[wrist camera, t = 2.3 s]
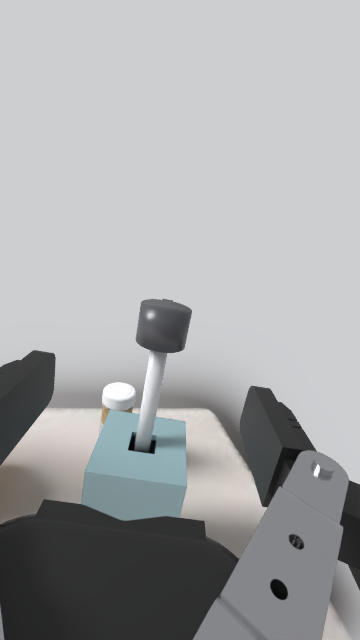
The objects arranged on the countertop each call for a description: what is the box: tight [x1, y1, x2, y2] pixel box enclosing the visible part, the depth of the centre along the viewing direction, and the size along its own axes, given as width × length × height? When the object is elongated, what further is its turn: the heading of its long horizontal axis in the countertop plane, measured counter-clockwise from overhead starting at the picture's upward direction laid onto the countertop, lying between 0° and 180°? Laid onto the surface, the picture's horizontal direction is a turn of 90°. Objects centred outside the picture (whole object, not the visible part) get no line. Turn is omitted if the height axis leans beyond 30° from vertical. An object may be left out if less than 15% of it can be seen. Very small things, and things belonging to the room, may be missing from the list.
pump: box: [134, 299, 192, 453], centre depth 25 cm, size 6×4×14 cm, turn 179°
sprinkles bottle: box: [99, 383, 136, 435], centre depth 42 cm, size 5×5×14 cm
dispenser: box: [82, 410, 187, 521], centre depth 28 cm, size 8×8×17 cm
